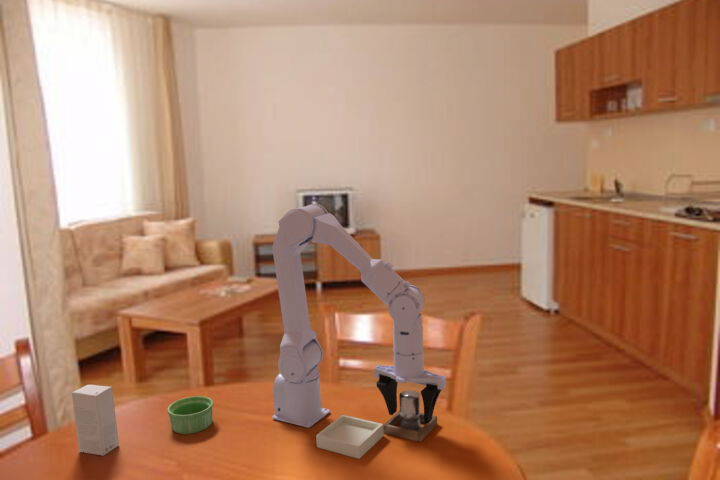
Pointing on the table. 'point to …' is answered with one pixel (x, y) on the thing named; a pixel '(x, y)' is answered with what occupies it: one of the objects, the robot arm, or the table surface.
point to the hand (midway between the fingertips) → (410, 416)
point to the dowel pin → (410, 410)
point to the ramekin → (190, 414)
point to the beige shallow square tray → (350, 436)
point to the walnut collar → (407, 433)
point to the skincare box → (95, 419)
